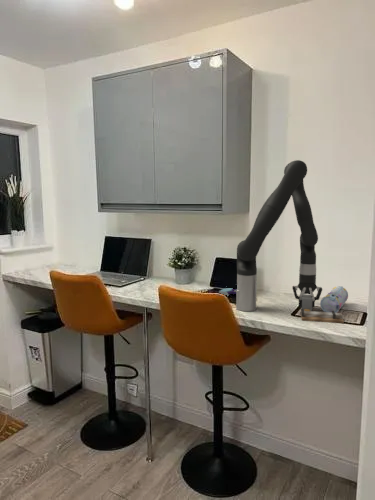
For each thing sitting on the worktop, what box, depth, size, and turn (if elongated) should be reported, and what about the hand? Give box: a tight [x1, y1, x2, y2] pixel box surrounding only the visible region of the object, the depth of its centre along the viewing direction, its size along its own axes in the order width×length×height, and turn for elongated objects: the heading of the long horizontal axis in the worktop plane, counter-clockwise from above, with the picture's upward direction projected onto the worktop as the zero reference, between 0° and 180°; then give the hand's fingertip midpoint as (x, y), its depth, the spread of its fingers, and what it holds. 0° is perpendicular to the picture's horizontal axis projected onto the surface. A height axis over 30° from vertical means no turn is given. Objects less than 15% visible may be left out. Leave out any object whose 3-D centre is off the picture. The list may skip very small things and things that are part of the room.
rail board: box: [300, 308, 345, 324], centre depth 160 cm, size 17×9×3 cm, turn 76°
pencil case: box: [319, 285, 349, 313], centre depth 174 cm, size 21×9×10 cm, turn 145°
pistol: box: [218, 287, 237, 297], centre depth 201 cm, size 4×16×15 cm
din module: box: [301, 294, 313, 311], centre depth 173 cm, size 4×9×6 cm, turn 166°
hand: (306, 307), depth 174 cm, fingers closed on din module, 4 cm apart
